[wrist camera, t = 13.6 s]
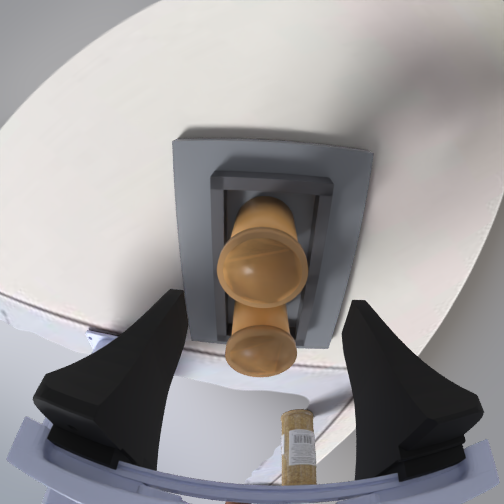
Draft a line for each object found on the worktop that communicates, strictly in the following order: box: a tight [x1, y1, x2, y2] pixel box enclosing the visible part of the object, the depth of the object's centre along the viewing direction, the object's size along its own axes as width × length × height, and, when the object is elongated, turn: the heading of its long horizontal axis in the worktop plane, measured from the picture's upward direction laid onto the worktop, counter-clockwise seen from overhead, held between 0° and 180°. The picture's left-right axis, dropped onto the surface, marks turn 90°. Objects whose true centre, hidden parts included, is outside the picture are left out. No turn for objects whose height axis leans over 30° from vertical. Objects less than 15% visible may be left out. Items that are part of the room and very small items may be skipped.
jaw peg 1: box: [217, 196, 308, 308], centre depth 17 cm, size 5×5×6 cm
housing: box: [172, 138, 374, 349], centre depth 21 cm, size 18×13×2 cm
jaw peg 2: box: [225, 300, 297, 377], centre depth 20 cm, size 5×5×6 cm
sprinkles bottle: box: [281, 409, 317, 504], centre depth 29 cm, size 5×5×13 cm
